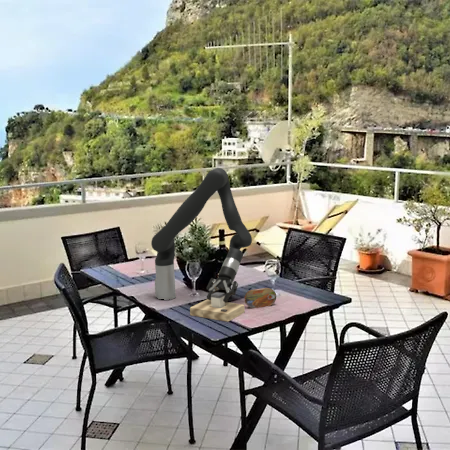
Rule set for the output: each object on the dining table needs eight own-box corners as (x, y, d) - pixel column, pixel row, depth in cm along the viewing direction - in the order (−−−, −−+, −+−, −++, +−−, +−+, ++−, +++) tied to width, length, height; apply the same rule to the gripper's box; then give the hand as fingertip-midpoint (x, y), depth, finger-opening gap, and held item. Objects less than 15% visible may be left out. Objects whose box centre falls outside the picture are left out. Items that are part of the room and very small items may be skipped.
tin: (246, 309, 257) (245, 291, 255) (243, 307, 260) (243, 289, 258) (276, 305, 261) (276, 287, 259) (274, 303, 264) (273, 286, 262)
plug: (211, 313, 252) (210, 294, 251) (217, 311, 256) (216, 292, 254) (219, 315, 250) (219, 295, 248) (225, 312, 253) (224, 293, 252)
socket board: (190, 315, 251) (189, 306, 251) (207, 306, 263) (207, 298, 262) (228, 321, 241) (227, 312, 240) (244, 312, 252) (244, 303, 252)
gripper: (212, 264, 259) (199, 294, 252) (239, 266, 252) (226, 298, 244) (219, 272, 265) (207, 302, 257) (245, 275, 257) (233, 306, 249)
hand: (216, 300), depth 251 cm, fingers open, 8 cm apart
